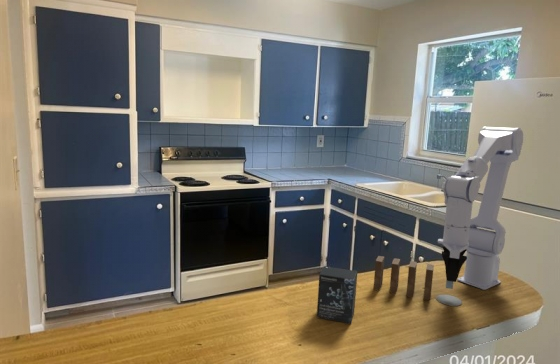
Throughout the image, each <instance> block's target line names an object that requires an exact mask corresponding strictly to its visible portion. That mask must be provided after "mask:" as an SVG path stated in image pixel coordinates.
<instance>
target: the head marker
mask: <svg viewBox="0 0 560 364" xmlns="http://www.w3.org/2000/svg"><path fill="white" fill-rule="evenodd" d="M435 298H436V299H435V300H436V301H437V302H438V303H441V304H443V305H445V306H450V307H459V306H461V305H462V304H463V301H462V300H461V299H460V298H458V297H456V296H453V295H450V294H439V295H436V297H435Z"/></svg>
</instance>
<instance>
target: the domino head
mask: <svg viewBox="0 0 560 364" xmlns="http://www.w3.org/2000/svg"><path fill="white" fill-rule="evenodd" d="M445 289H450V290H453V289H454V282H452V281H447V279H446V281H445Z"/></svg>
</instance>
